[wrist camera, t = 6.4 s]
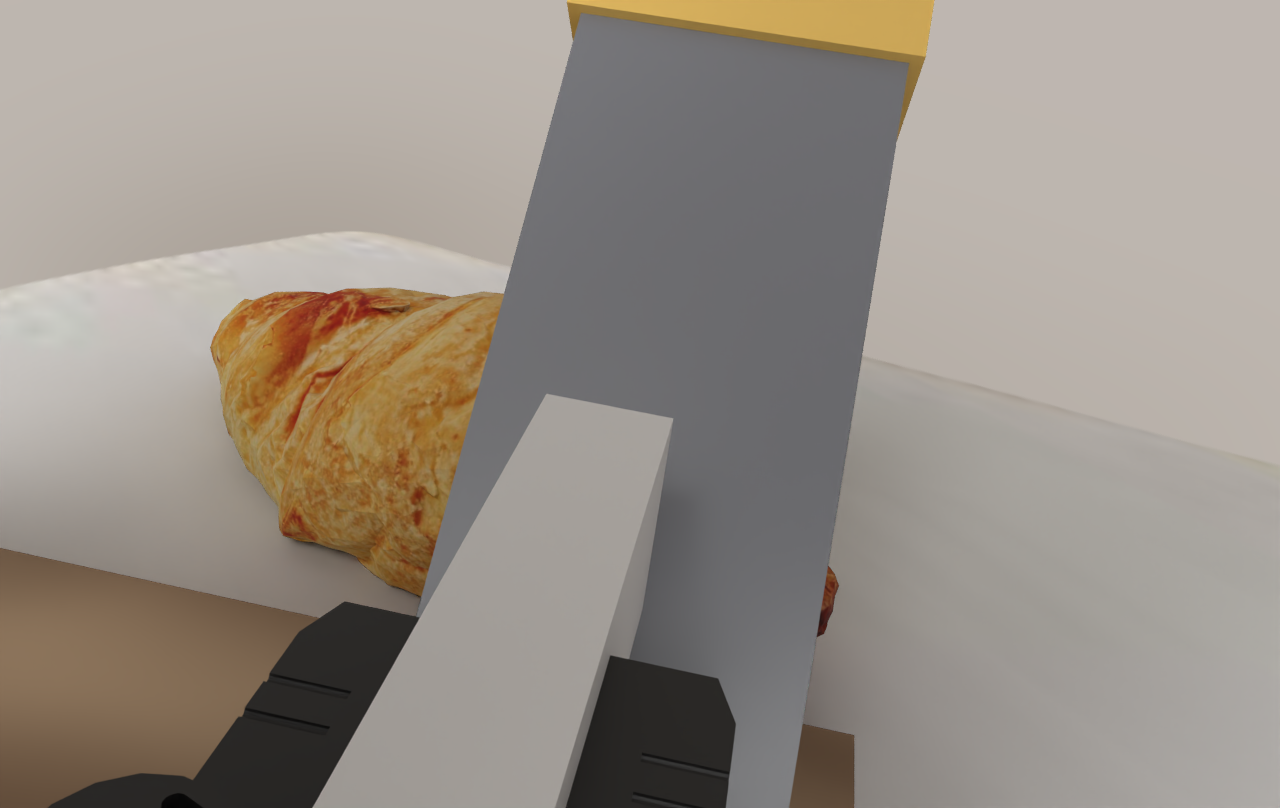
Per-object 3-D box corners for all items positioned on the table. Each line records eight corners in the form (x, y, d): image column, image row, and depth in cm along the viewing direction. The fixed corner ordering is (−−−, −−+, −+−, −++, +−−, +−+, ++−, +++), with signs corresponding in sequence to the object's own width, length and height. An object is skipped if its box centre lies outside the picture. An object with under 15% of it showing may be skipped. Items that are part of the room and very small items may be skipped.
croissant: (161, 500, 34) (1, 325, 28) (375, 292, 38) (277, 104, 32) (735, 866, 24) (679, 715, 18) (933, 524, 28) (942, 311, 22)
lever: (811, 1085, 12) (976, -50, 16) (259, 945, 12) (565, -108, 17) (791, 1031, 14) (940, 49, 18) (326, 915, 15) (580, -5, 19)
